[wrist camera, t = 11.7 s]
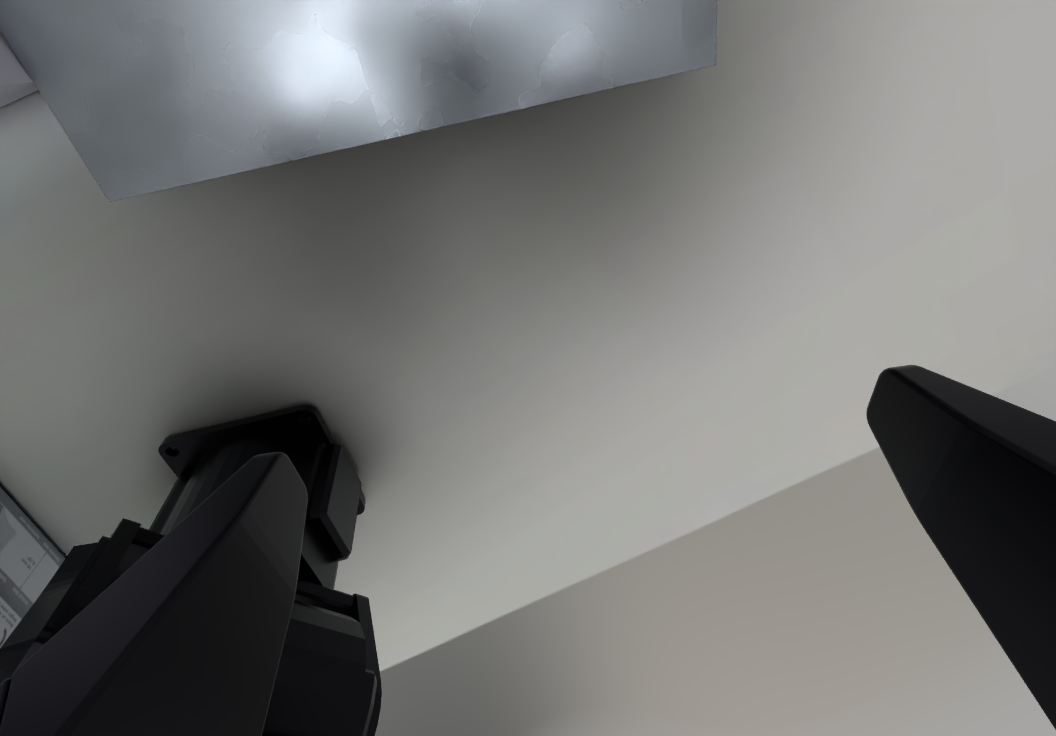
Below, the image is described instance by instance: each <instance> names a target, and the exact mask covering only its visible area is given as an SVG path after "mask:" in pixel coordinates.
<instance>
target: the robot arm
mask: <svg viewBox="0 0 1056 736" xmlns="http://www.w3.org/2000/svg"><path fill="white" fill-rule="evenodd" d="M301 415H307V416H309V417H310V419H305V418H303V417H302V416H301ZM867 421H868V424H869V426H870V428H871V430H872V432H873V434H874V436H875V438H876V440H877V442H878V444H879V446H880V448H881V450H882V452H883V454H884V456H885V458H886V459H887V462H888V464H889V465H890V467H891V469H892V471H893V473H894V475H895V477H896V479H897V481H898V483H899V485H900V487H901V489H902V491H903V493H904V495H905V497H906V499H907V500H908V502H909V504H910V506H911V508H912V509H913V511H914V513H915V515H916V516H917V518H918V520H919V521H920V523H921V524H922V526H923V528H924V529H925V531H926V532H927V534H928V535H929V537H930V538H931V540H932V541H933V543H934V544H935V546H936V548H937V549H938V551H939V552H940V554H941V555H942V557H943V558H944V560H945V561H946V563H947V564H948V566H949V567H950V569H951V570H952V572H953V573H954V575H955V577H956V578H957V580H958V581H959V583H960V584H961V586H962V587H963V589H964V590H965V592H966V593H967V595H968V596H969V598H970V600H971V601H972V603H973V604H974V605H975V607H976V608H977V610H978V612H979V613H980V615H981V616H982V618H983V619H984V621H985V622H986V624H987V625H988V627H989V628H990V630H991V632H992V633H993V634H994V636H995V638H996V639H997V641H998V642H999V644H1000V645H1001V647H1002V648H1003V650H1004V651H1005V653H1006V655H1007V656H1008V658H1009V659H1010V661H1011V662H1012V664H1013V665H1014V667H1015V668H1016V670H1017V671H1018V673H1019V674H1020V676H1021V677H1022V679H1023V680H1024V682H1025V684H1026V685H1027V687H1028V688H1029V690H1030V691H1031V693H1032V694H1033V696H1034V697H1035V699H1036V700H1037V702H1038V703H1039V705H1040V706H1041V708H1042V709H1043V711H1044V713H1045V714H1046V716H1047V717H1048V719H1049V720H1050V722H1051V723H1052V725H1053V726H1054V728H1055V729H1056V421H1053V420H1051V419H1048V418H1046V417H1043V416H1041V415H1038V414H1036V413H1034V412H1031V411H1029V410H1026V409H1024V408H1021V407H1019V406H1016V405H1014V404H1011V403H1009V402H1006V401H1004V400H1001V399H999V398H997V397H994V396H992V395H989V394H987V393H984V392H982V391H979V390H977V389H974V388H972V387H969V386H967V385H964V384H962V383H959V382H957V381H954V380H952V379H950V378H947V377H945V376H942V375H940V374H937V373H935V372H932V371H930V370H927V369H925V368H922V367H920V366H916V365H906V366H899V367H892V368H887V369H885V370H884V371H882V372H881V373H880V375H879V377H878V380H877V383H876V385H875V388H874V391H873V393H872V396H871V399H870V402H869V404H868V407H867ZM171 447H173V448H176V449H177V450H174V449H172V448H171ZM159 453H160V455H161V457H162V458H163V459H164V460H165V462H166V463H167V464H168V465H169V467H170V468H171V469H172V470H173V472H174V473H175V474H176V475H177V477H178V479H177V481H176V483H175V485H174V486H173V488H172V490H171V492H170V493H169V495H168V497H167V499H166V500H165V502H164V504H163V506H162V508H161V509H160V511H159V513H158V515H157V516H156V518H155V520H154V522H153V523H152V525H151V527H150V529H149V530H147V529H144V528H141V527H140V526H141V524H139V523H136V522H133V521H130V520H127V519H124V518H123V519H122V521H121V522H120V524H119V525H118V527H117V528H116V530H115V531H114V533H113V534H112V536H111V537H110V538H108V537H104V536H102V538H101V539H100V541H99V542H98V543H92V544H86V545H79V546H74V547H73V548H72V550H71V551H70V553H69V554H68V556H67V557H66V558H65V560H64V561H63V563H62V564H61V566H60V567H59V569H58V570H57V571H56V573H55V574H54V576H53V577H52V579H51V580H50V582H49V583H48V584H47V586H46V587H45V589H44V590H43V591H42V593H41V594H40V596H39V597H38V598H37V600H36V601H35V602H34V604H33V605H32V606H31V608H30V609H29V610H28V612H27V613H26V614H25V616H24V617H23V618H22V620H21V621H20V622H19V624H18V625H17V626H16V628H15V629H14V630H13V632H12V633H11V634H10V636H9V637H8V638H7V640H6V641H5V642H4V644H3V645H2V646H1V648H0V736H375V732H376V728H377V724H378V719H379V713H380V708H381V707H380V706H381V695H382V692H381V678H380V671H379V665H378V658H377V651H376V645H375V638H374V631H373V625H372V618H371V611H370V605H369V599H368V598H367V597H364V596H361V595H358V594H354V595H349V594H346V593H343V592H340V591H337V590H334V585H335V579H336V574H337V568H338V562H339V561H341V560H345V559H347V558H348V557H349V555H350V553H351V550H352V544H353V537H354V530H355V524H356V517H357V515H359V514H361V513H362V512H363V511H364V509H365V499H364V497H363V495H362V493H361V482H360V480H359V478H358V476H357V474H356V472H355V470H354V468H353V466H352V464H351V462H350V460H349V458H348V456H347V455H346V453H345V451H344V449H343V447H342V446H341V445H340V444H338V443H335V442H334V440H333V438H332V436H331V434H330V432H329V430H328V428H327V426H326V425H325V423H324V421H323V419H322V417H321V415H320V413H319V411H318V410H317V409H316V408H315V407H313V406H312V405H307V404H305V405H299V406H295V407H290V408H286V409H282V410H278V411H274V412H270V413H266V414H261V415H257V416H253V417H249V418H245V419H241V420H237V421H232V422H228V423H224V424H220V425H216V426H212V427H207V428H203V429H199V430H195V431H191V432H187V433H183V434H178V435H174V436H170V437H168V438H165V440H164V441H163V442H162V444H161V445H160V447H159Z"/></svg>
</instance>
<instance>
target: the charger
mask: <svg viewBox="0 0 1056 736" xmlns="http://www.w3.org/2000/svg"><path fill="white" fill-rule="evenodd" d="M37 90H38V88H37V87H36V85H35V84H34V82H33V81H32V79H31V77H30V76H29V74H28V73H27V71H26V69H25V68H24V66H23V65H22V63H21V62H20V60H19V58H18V57H17V55H16V54H15V52H14V50H13V49H12V47H11V46H10V44H9V43H8V41H7V39H6V38H5V36H4V35H3V33H2V32H1V30H0V107H2V106H5V105H7V104H9V103H11V102H13V101H16V100H18V99H20V98H22V97H24V96H26V95H29V94H31V93H33V92H35V91H37Z"/></svg>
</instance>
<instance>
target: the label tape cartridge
mask: <svg viewBox="0 0 1056 736" xmlns="http://www.w3.org/2000/svg"><path fill="white" fill-rule="evenodd" d="M64 560H65V557H64V556H63V555H62V554H61V553H60V552H59V551H58V550H57V549H56V548H55V547H54V545H53V544H52V543H51V542H50V541H49V540H48V539H47V538H46V537H45V536H44V535H43V533H42V532H41V531H40V530H39V529H38V528H37V527H36V526H35V525H34V524H33V523H32V521H31V520H30V519H29V518H28V517H27V516H26V515H25V514H24V513H23V511H22V510H21V509H20V508H19V507H18V506H17V505H16V504H15V503H14V502H13V500H12V499H11V498H10V497H9V496H8V495H7V494H6V493H5V492H4V491H3V489H2V488H1V487H0V648H1V646H2V645H3V644H4V642H5V641H6V640H7V638H8V637H9V636H10V634H11V633H12V632H13V630H14V629H15V628H16V626H17V625H18V624H19V622H20V621H21V620H22V618H23V617H24V616H25V614H26V613H27V612H28V610H29V609H30V608H31V606H32V605H33V604H34V602H35V601H36V600H37V598H38V597H39V596H40V594H41V593H42V591H43V590H44V589H45V587H46V586H47V584H48V583H49V582H50V580H51V579H52V577H53V576H54V574H55V573H56V571H57V570H58V569H59V567H60V566H61V564H62V563H63V561H64Z"/></svg>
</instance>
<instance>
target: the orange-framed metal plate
mask: <svg viewBox="0 0 1056 736" xmlns="http://www.w3.org/2000/svg"><path fill="white" fill-rule="evenodd" d="M716 22H717V0H0V30H1V32H2V33H3V35H4V36H5V38H6V39H7V41H8V43H9V44H10V46H11V47H12V49H13V50H14V52H15V54H16V55H17V57H18V58H19V60H20V62H21V63H22V65H23V66H24V68H25V69H26V71H27V73H28V74H29V76H30V77H31V79H32V81H33V82H34V84H35V85H36V87H37V88H38V90H39V92H40V93H41V95H42V96H43V98H44V100H45V101H46V103H47V104H48V106H49V107H50V109H51V111H52V112H53V114H54V115H55V117H56V118H57V120H58V122H59V123H60V125H61V126H62V128H63V130H64V131H65V133H66V134H67V136H68V137H69V139H70V141H71V142H72V144H73V145H74V147H75V149H76V150H77V152H78V153H79V155H80V156H81V158H82V160H83V161H84V163H85V164H86V166H87V167H88V169H89V171H90V172H91V174H92V175H93V177H94V179H95V180H96V182H97V183H98V185H99V186H100V188H101V190H102V191H103V193H104V194H105V196H106V198H107V199H108V201H109V202H112V201H116V200H121V199H125V198H129V197H134V196H138V195H143V194H147V193H152V192H156V191H160V190H165V189H169V188H174V187H178V186H182V185H187V184H191V183H196V182H200V181H205V180H209V179H213V178H218V177H222V176H227V175H231V174H236V173H240V172H244V171H249V170H253V169H258V168H262V167H266V166H271V165H275V164H280V163H284V162H289V161H293V160H297V159H302V158H306V157H311V156H315V155H320V154H324V153H328V152H333V151H337V150H342V149H346V148H351V147H355V146H359V145H364V144H368V143H373V142H377V141H381V140H386V139H390V138H395V137H399V136H404V135H408V134H412V133H417V132H421V131H426V130H430V129H435V128H439V127H443V126H448V125H452V124H457V123H461V122H465V121H470V120H474V119H479V118H483V117H488V116H492V115H496V114H501V113H505V112H510V111H514V110H519V109H523V108H527V107H532V106H536V105H541V104H545V103H549V102H554V101H558V100H563V99H567V98H572V97H576V96H580V95H585V94H589V93H594V92H598V91H603V90H607V89H611V88H616V87H620V86H625V85H629V84H633V83H638V82H642V81H647V80H651V79H656V78H660V77H664V76H669V75H673V74H678V73H682V72H687V71H691V70H695V69H700V68H704V67H709V66H713V65H716Z"/></svg>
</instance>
